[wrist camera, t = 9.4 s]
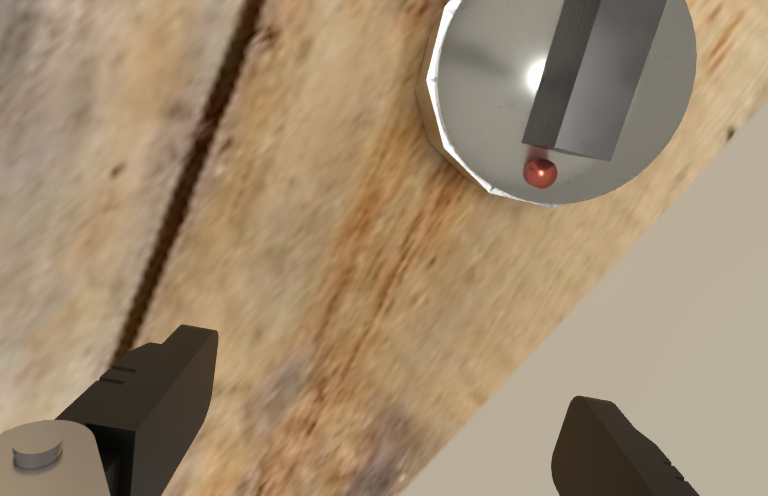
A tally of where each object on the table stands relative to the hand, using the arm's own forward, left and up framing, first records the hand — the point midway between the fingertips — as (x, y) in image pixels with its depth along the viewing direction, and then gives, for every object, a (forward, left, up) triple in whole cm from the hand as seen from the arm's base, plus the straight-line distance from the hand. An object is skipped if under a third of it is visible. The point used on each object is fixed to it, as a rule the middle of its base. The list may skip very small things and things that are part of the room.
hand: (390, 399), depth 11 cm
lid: (-5, +11, -16) cm, 20 cm away
